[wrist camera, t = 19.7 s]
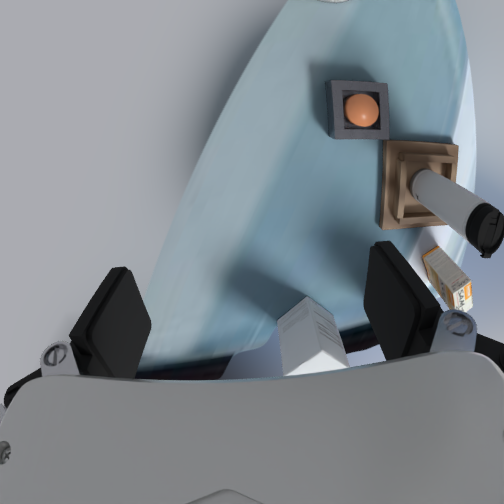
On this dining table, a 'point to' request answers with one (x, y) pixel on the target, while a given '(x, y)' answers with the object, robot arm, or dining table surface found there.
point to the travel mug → (460, 210)
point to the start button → (360, 109)
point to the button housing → (336, 119)
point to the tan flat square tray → (399, 176)
